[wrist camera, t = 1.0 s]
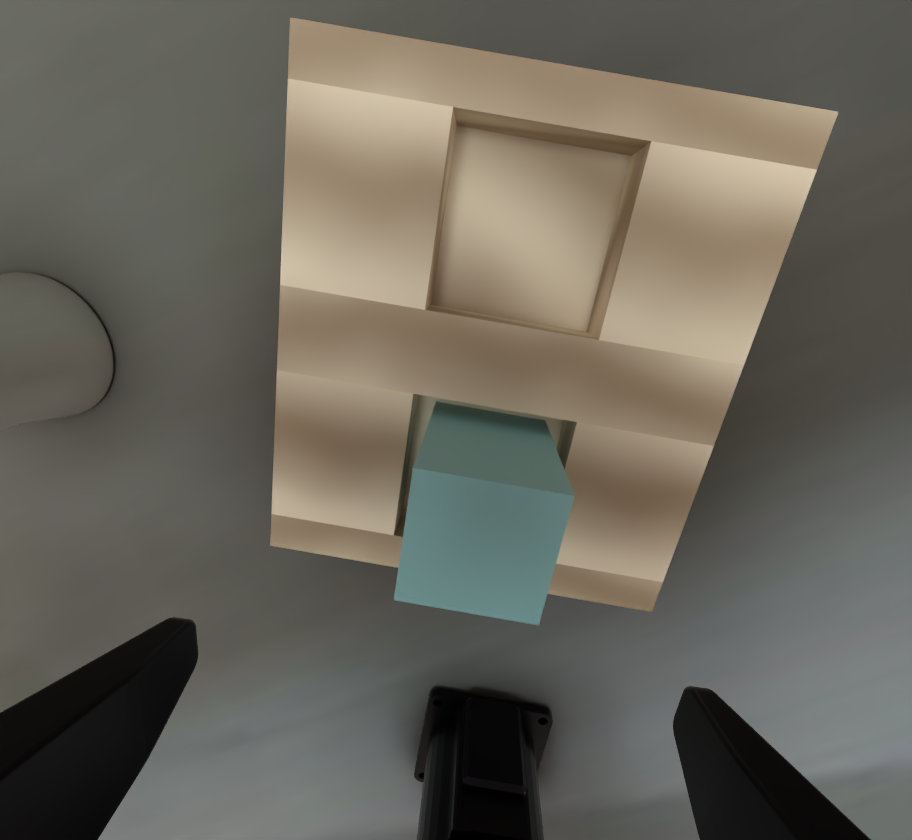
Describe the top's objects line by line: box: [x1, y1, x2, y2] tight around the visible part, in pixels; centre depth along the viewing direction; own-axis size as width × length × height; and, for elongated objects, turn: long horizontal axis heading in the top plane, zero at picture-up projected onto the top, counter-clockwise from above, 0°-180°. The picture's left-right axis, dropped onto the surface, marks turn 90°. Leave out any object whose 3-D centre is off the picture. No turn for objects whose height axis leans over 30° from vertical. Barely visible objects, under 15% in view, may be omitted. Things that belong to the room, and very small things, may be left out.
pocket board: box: [270, 17, 838, 612], centre depth 17 cm, size 18×16×2 cm
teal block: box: [394, 401, 574, 625], centre depth 17 cm, size 4×4×6 cm
